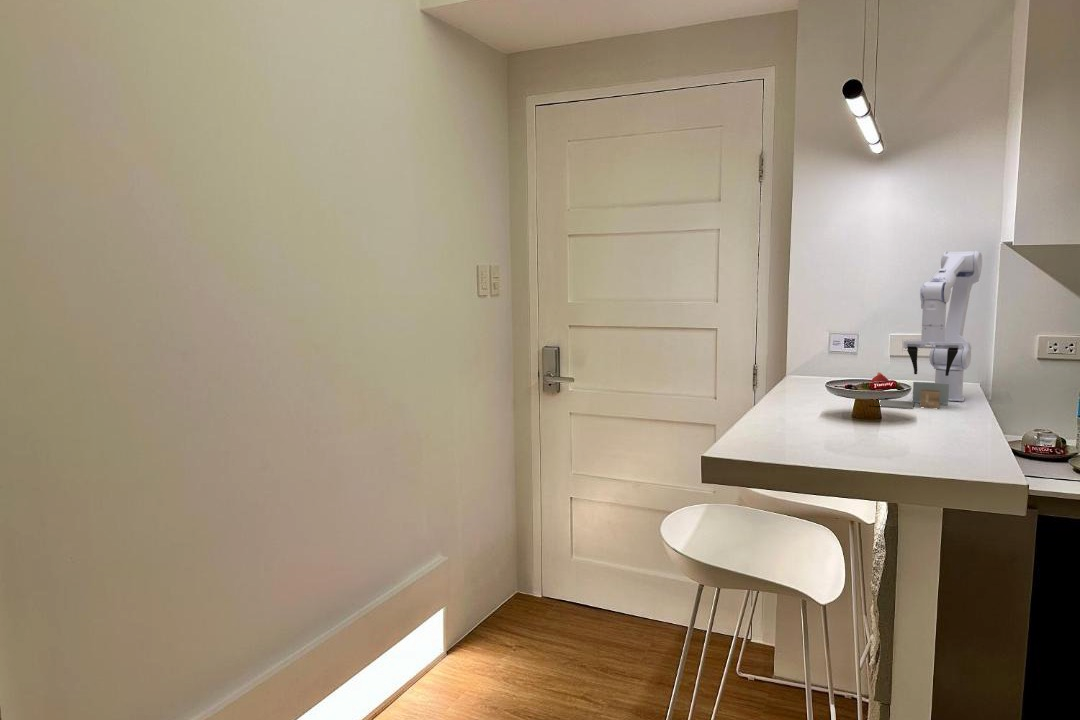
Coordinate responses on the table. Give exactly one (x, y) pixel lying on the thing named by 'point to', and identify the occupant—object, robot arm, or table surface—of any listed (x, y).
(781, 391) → the table surface
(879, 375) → the onion
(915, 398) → the screen
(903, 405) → the grey square plate
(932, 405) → the taped cardboard box
